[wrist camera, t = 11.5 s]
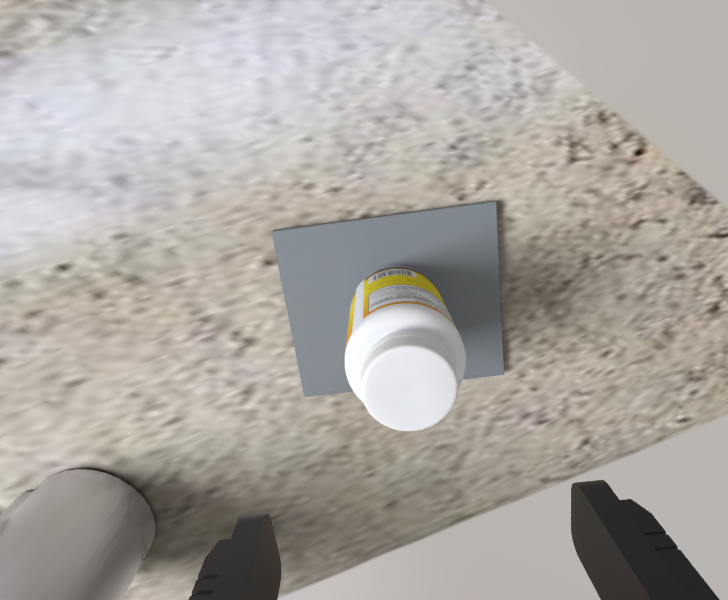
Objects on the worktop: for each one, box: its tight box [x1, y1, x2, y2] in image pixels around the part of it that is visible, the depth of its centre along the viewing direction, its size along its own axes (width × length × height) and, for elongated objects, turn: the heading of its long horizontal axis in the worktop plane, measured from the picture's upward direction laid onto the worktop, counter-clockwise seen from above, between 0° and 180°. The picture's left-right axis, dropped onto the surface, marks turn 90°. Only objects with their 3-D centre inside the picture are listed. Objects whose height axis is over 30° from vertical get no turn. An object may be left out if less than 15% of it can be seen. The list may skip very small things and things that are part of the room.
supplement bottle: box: [345, 266, 466, 431], centre depth 24 cm, size 6×6×10 cm
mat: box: [272, 201, 504, 397], centre depth 29 cm, size 13×11×1 cm
